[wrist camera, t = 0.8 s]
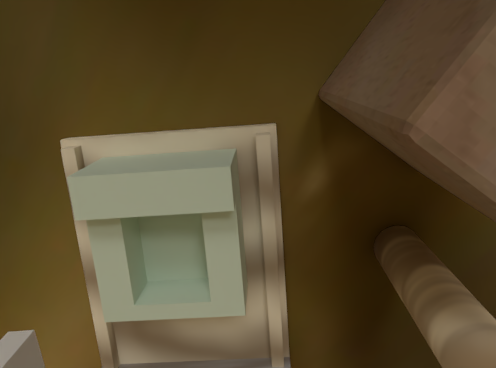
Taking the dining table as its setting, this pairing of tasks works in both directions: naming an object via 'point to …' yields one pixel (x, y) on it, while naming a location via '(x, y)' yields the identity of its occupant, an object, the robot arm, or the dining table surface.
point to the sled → (165, 234)
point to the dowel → (437, 301)
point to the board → (256, 253)
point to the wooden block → (428, 91)
